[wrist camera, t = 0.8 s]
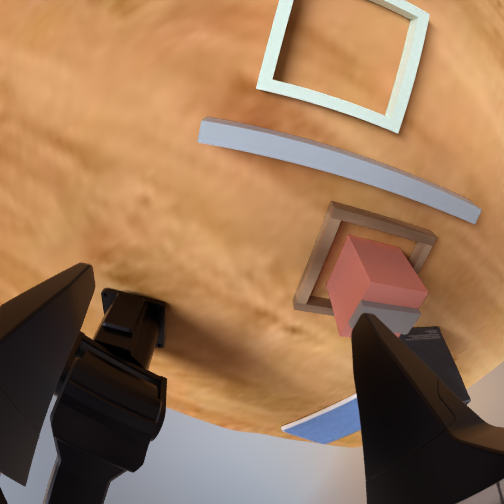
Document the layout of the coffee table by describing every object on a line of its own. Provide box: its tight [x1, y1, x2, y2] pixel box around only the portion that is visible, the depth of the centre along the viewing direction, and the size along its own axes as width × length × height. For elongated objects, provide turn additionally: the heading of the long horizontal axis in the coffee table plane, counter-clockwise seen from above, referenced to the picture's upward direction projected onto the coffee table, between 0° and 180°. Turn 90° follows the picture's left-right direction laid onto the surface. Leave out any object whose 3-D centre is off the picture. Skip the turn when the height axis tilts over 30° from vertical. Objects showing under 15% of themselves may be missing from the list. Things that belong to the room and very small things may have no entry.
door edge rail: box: [198, 117, 482, 224], centre depth 18 cm, size 1×22×2 cm, turn 77°
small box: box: [398, 327, 471, 405], centre depth 26 cm, size 11×6×10 cm, turn 176°
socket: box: [256, 0, 430, 133], centre depth 14 cm, size 11×10×1 cm
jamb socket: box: [293, 201, 437, 316], centre depth 23 cm, size 10×10×1 cm
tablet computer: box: [281, 393, 361, 444], centre depth 39 cm, size 19×13×1 cm, turn 136°
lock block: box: [326, 235, 428, 337], centre depth 21 cm, size 5×5×7 cm
